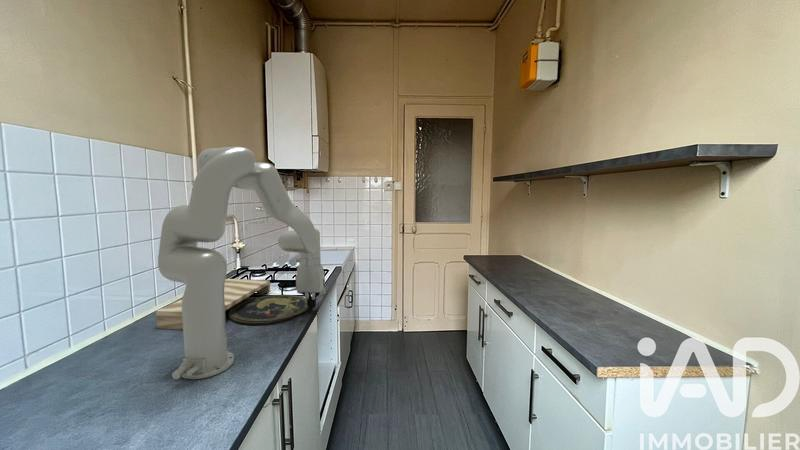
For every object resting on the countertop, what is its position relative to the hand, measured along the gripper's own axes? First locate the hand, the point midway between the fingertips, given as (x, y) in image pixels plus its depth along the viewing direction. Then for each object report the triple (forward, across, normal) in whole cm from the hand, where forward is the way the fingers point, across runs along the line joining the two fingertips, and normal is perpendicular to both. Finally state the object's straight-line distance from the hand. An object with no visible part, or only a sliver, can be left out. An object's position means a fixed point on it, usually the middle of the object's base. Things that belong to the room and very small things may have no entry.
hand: (311, 308), depth 125 cm
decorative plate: (+2, -16, 0) cm, 16 cm away
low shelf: (+1, -36, -1) cm, 36 cm away
